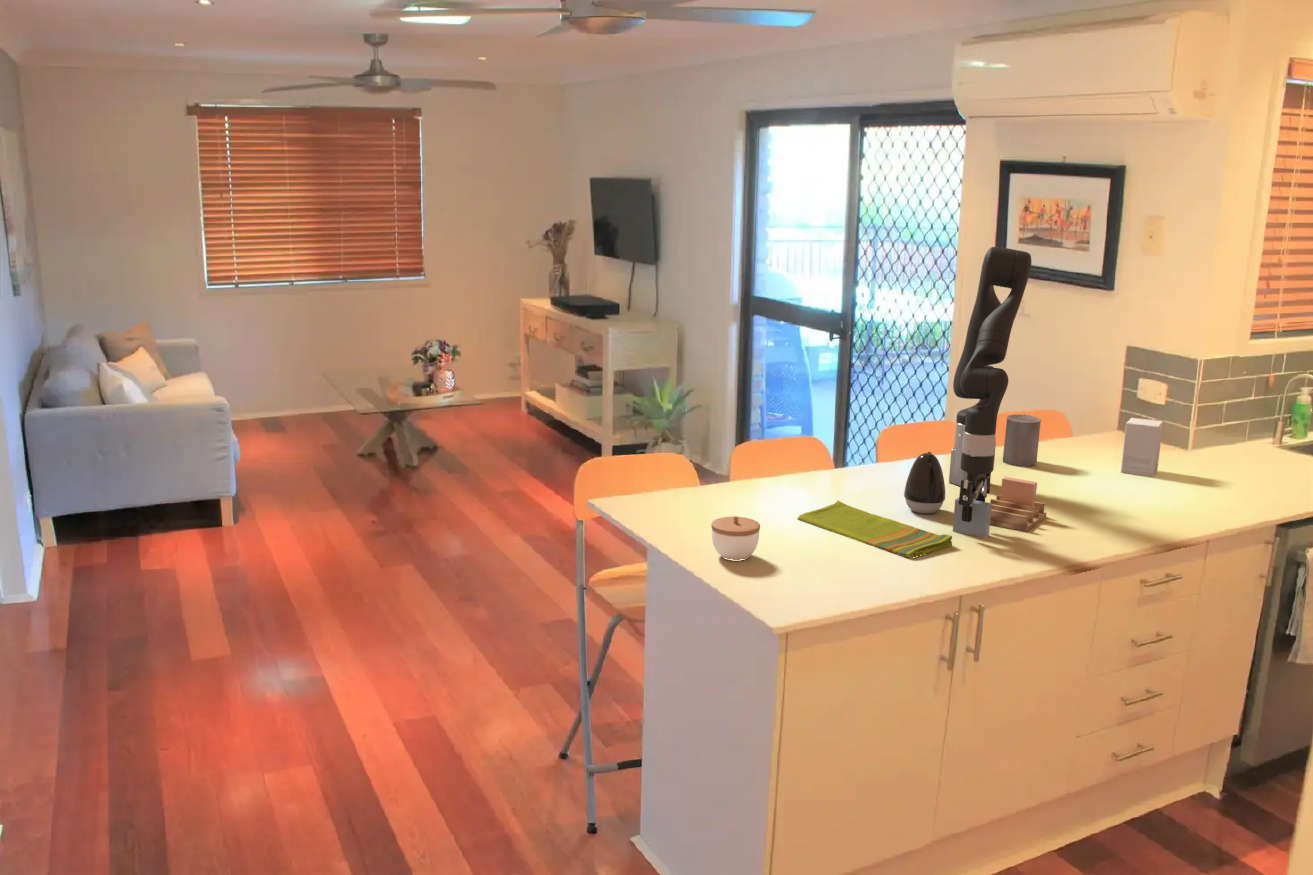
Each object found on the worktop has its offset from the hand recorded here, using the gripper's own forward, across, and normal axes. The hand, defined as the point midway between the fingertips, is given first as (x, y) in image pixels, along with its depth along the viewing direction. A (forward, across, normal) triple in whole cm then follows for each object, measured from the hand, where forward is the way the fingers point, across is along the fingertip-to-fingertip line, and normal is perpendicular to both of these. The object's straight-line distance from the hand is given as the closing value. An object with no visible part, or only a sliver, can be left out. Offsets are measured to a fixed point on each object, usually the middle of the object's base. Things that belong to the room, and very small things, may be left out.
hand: (972, 517), depth 260 cm
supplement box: (+4, -86, +19) cm, 88 cm away
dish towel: (+5, +14, -19) cm, 24 cm away
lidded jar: (+4, +49, -36) cm, 61 cm away
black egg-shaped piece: (+4, -10, -16) cm, 20 cm away
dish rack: (+4, -17, +4) cm, 18 cm away
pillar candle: (+4, -74, -12) cm, 75 cm away
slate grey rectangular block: (0, 0, 0) cm, 0 cm away
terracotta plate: (-1, -22, +4) cm, 22 cm away
